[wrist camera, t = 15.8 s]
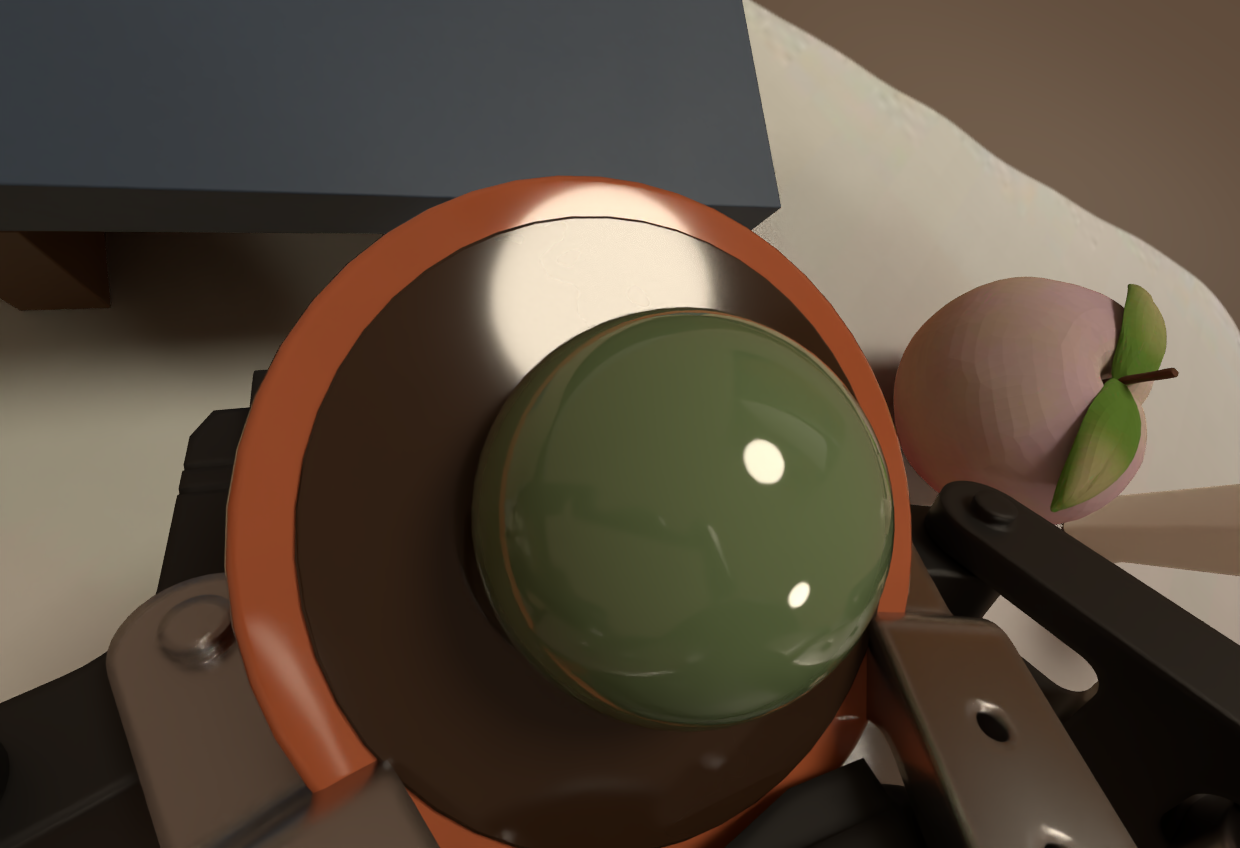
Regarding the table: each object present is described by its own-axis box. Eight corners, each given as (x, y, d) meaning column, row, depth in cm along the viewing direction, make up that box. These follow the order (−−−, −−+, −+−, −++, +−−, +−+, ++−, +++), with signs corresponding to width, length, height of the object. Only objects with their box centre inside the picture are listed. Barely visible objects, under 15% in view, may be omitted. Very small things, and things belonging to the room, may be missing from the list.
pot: (318, 659, 13) (-72, 1621, 2) (340, 386, 13) (183, -223, 2) (585, 640, 15) (1228, 1001, 4) (587, 405, 16) (1105, 116, 5)
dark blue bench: (9, 311, 16) (-223, 178, 10) (-8, 60, 17) (-238, -218, 11) (672, 290, 24) (782, 207, 18) (643, 118, 25) (738, -23, 18)
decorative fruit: (861, 286, 28) (1101, 171, 19) (987, 368, 30) (1257, 301, 21) (806, 477, 25) (1054, 454, 16) (949, 551, 28) (1238, 566, 18)
